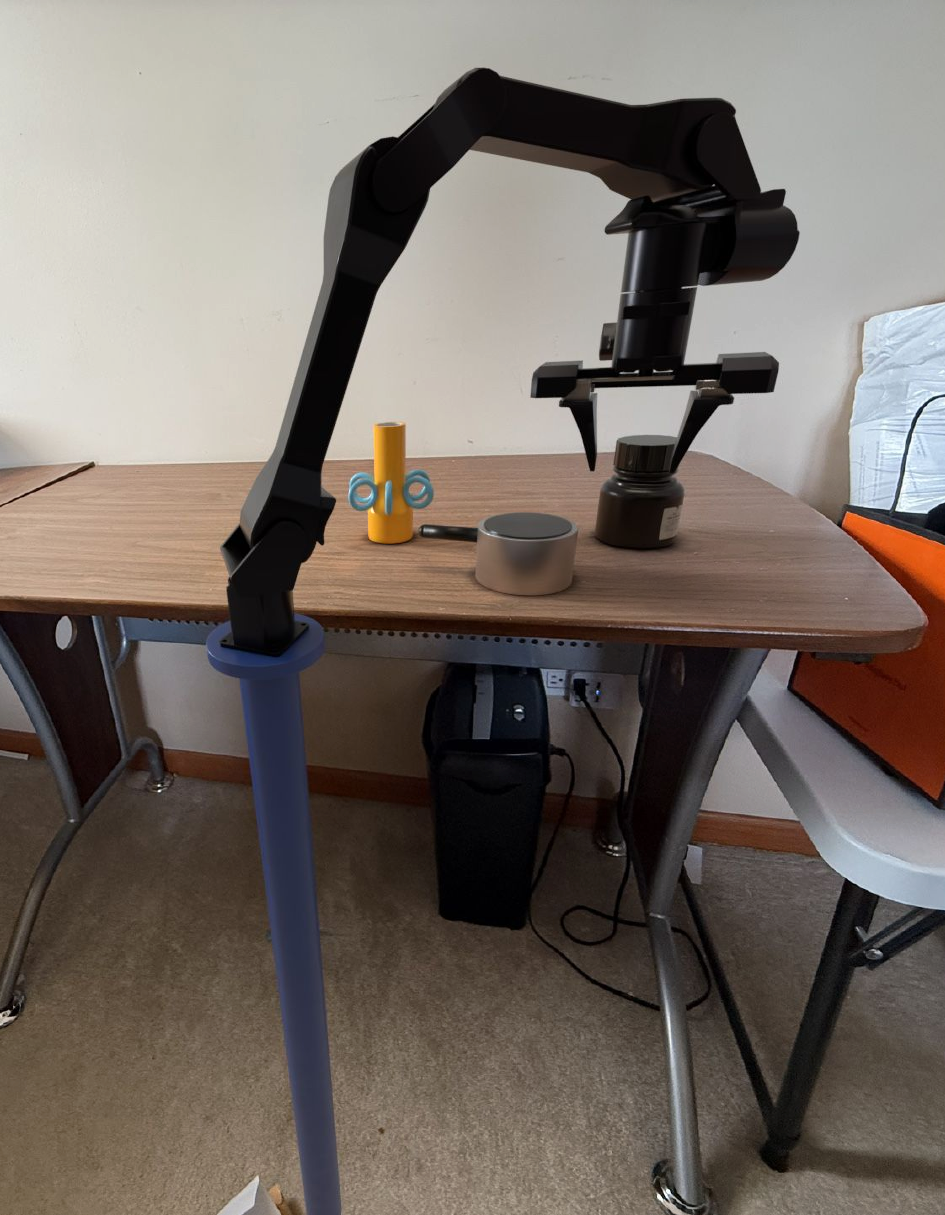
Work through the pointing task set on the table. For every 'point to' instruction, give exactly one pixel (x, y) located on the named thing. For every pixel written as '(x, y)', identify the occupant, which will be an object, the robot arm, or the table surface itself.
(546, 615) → the table surface
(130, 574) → the table surface
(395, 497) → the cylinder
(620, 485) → the ink bottle
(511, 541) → the pot
